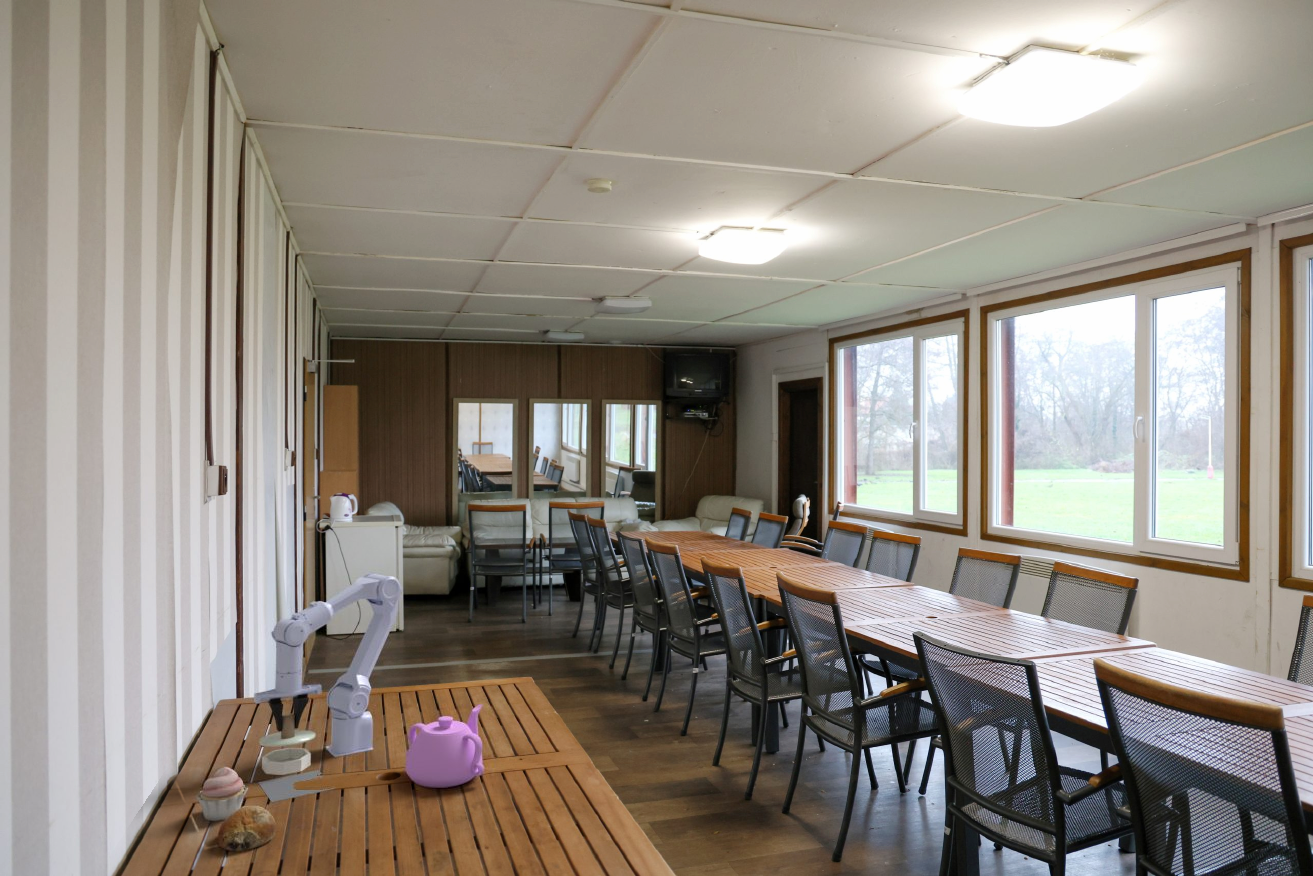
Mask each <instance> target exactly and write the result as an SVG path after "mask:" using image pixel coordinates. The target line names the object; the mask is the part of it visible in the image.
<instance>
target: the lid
mask: <svg viewBox="0 0 1313 876" xmlns="http://www.w3.org/2000/svg"><path fill="white" fill-rule="evenodd" d="M315 738H316V732H315V731H312V730H305V729H295V714H293V713H284V714H282V731H280V732H275V733H270V734H268V735H265V736H263V737H261V738H259V745H260V746H263V747H267V748H268V747H270V748H281V747H289V746H290V747H291V746H295V745H301V744H305V743H307V742H310V741H313V739H315Z"/></svg>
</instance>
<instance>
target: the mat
mask: <svg viewBox="0 0 1313 876" xmlns="http://www.w3.org/2000/svg"><path fill="white" fill-rule="evenodd" d="M317 774H319V775H320V774H323V773H322V772H321V771H320V770H319V769H317V770H312V771H307V772H303V773H301V772H300V773H297V774H292V775H288V776H283V777H277V778H271V779H267V780H263V781H258V782H257V783H258V785H259V786H260V788H261V789H262V790H263V792H264V793H265V795H266V796H267V798H268V799H269V801H270V802H271V803H276V802H280V801H281V802H282V801H284V800H289V799H294V798H295V799H296V798H298V797H304V796H308V795H312V794H317V793H323V792H327V791H331V790H335V789H336V788H335V787H334V788H331V789H325V790H324V789H323V790H296V789H294V788H293V787H294V786H295V785H294V786H293V784H294V783H295V782H299V781H306V780H311V779H313V778H315V779H316V778H318V777H320V778H322V777H323V776H324V775H323V776H317Z"/></svg>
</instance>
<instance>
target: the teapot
mask: <svg viewBox="0 0 1313 876" xmlns="http://www.w3.org/2000/svg"><path fill="white" fill-rule="evenodd" d="M482 708H483V704H478V705H476V706H475V707H474V708H472V710H471V712H470V713H469V717H468V718H467V719H468V720H467V723H465V722H463V721H458V720H454V717H452V716H447V715H446V716H445V715H444V716H443V715H442V716H440V717H437V721H433V722H430V723H428V724H424V723H415V724H414V725H412V726H411V727H410V728H409V731H408V741H409V749H407V751H406V753H405V757H406V760H405V772H406V774H407V775H408V777H409V778H410V779H411V781H413V782H414V783H415V784H416V785H419V786H423V787H427V788H440V789H441V788H445V789H447V788H450V787H456V786H459V785H463V784H465V783H468V782H469V781H472V780H473V778H474V777H479V776H482V775H483V774H484V772H485V766H484V764H483V754H482V752H483V742H482V739H481V737H480V736H479V727H478V725H479V724H478V718H479V717H478V716H479V714H480V711H481V709H482ZM417 729H418V730H420V731H419V732H418V734H417Z"/></svg>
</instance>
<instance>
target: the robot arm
mask: <svg viewBox="0 0 1313 876" xmlns="http://www.w3.org/2000/svg"><path fill="white" fill-rule="evenodd" d="M402 593H403V588H402V586H401V583H400V581H399V579H398V578H397V577H395V576H392V575H388V576H387V575H382V574H377V573H374V572H368V573H365V574H364V575H363V576H361V577H358V578H357V579H356V580H355V582H353V583H352V584H351V585H349V586H347V587H346V588H345V589H343V590H342V591H340V592H338V593H337V594H336V595H334V596H333V597H331V598H330V599H328V600H327V601H326V602H324V601H321V600H319V601H314V600H313V601H312V602H310V603H309V606H307V607H306V608H305V609H303V610H301V611H299V612H295V613H293V614H292V615H291V617H290V618H288V617H287V618H286V617H285V618H282V619H280V620H279V621H277V622H276V624H275V625H274V628H273V631H271V637H272V639H273V640H274V641H275V648H276V649H275V680H274V681H275V688H273V689H270V690H269V689H268V690H264V691H261V692H254V694H253V703H255V704H261V703H264V702H267V703H268V705H269V707H270V709H271V712H272V714H273V718H274V720H275V721H274V722H275V726H276V730H277V733H279V732H281V731H282V715H283V712H284V711H283V710H284V704H283V702H282V700H283V699H284V700H285V699H290V698H291V699H292V703H293V704H292V705H293V713H292V714H295V730H298V729H299V725H300V721H301V717H302V715H303V713H304V711H305V708H306V707H307V705H308V704H309V701H310V697H308V696H311V695H322V688H323V687H322V685H321V684H320V683H317V684H306V685H304V684H303V682H302V681H303V647H304V643H305V642H306V641H307V640H308V637H309V635H311V634H313V633H314V632H316V631H318V630H319V629H320V628H322V627H324V626H325V625H327V624H329V623H330V622H331V621H332V619H333V615H334V614H335V613H338V612H339V611H342V610H343V609H345V608H347V607H349V606H351V605H352V604H354V603H356V602H358V601H360V600H366V601H367V602H368V603H369V604H370V607H371V609H372V611H373V615H372V617H371V620H369V621H370V622H369V624H368V626H367V628H366V630H365V633H364V635H363V637H362V639H361V641H360V644H359V646H358V647H357V650H356V652H355V654H354V656H353V659H352V662H351V663H350V665H349V667H348V669H347V672H346V673H343V674H342V675H341V676H339V677H338V679H337V680H336V683H335V684H334V685H333V686H332V687H331V688H330V689H329V691H328V693H327V694H326V704H327V706H328V708H330V712H331V734H330V735H331V736H330V737H331V739H330V742H331V743H330V745H328V746H327V745H326V746H325V749H326V750H327V751H328V752H329V753H330V754H331V755H332V756H333V758H337V757H343V756H348V755H353V754H357V753H358V754H359V753H362V752H363V753H364V752H368V751H373V750H374V748H373V737H374V735H373V734H374V733H373V732H374V730H373V729H374V721H373V716H372V714H371V712H370V711H368V710H367V708H368V706H369V702H370V701H369V699H370V694H371V691H372V687H371V684H370V682H369V681H370V680H369V678H370V677H371V675H372V673H373V670H374V668H375V666H376V664H377V661H378V659H379V657H380V655H381V652H382V650H383V648H384V645H385V643H386V641H387V638H388V636H389V634H390V632H391V629H392V628H393V625H394V623H395V620H396V619H397V616H398V613H399V602H400V598H401V595H402ZM302 684H303V685H302ZM366 710H367V711H366Z"/></svg>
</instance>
